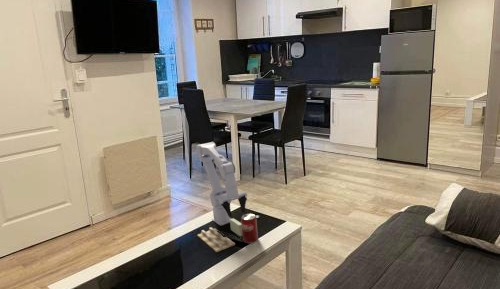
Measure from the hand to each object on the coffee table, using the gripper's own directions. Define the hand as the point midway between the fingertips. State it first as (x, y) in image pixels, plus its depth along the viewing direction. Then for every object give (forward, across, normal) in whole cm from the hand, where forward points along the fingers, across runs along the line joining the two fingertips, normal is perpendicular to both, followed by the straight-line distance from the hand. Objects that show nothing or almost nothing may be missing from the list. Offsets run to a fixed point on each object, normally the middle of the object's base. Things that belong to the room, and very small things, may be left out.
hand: (236, 214), depth 180 cm
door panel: (+10, 0, +4) cm, 10 cm away
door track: (+10, -12, +4) cm, 16 cm away
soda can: (+12, +1, -6) cm, 14 cm away
